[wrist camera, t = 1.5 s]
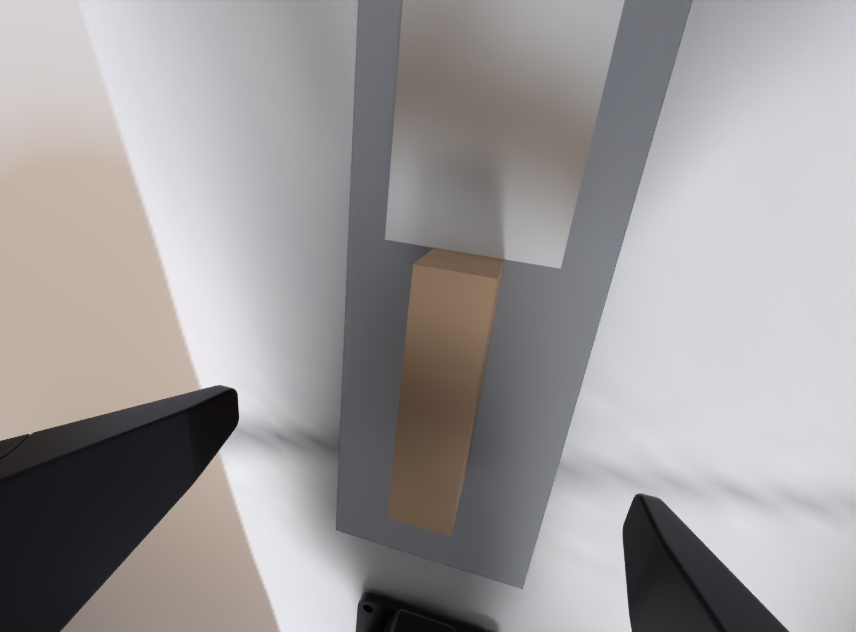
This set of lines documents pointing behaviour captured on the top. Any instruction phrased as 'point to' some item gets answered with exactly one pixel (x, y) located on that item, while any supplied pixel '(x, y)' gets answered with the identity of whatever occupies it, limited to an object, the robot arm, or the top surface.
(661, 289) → the top surface
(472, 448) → the mat
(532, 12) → the turner
